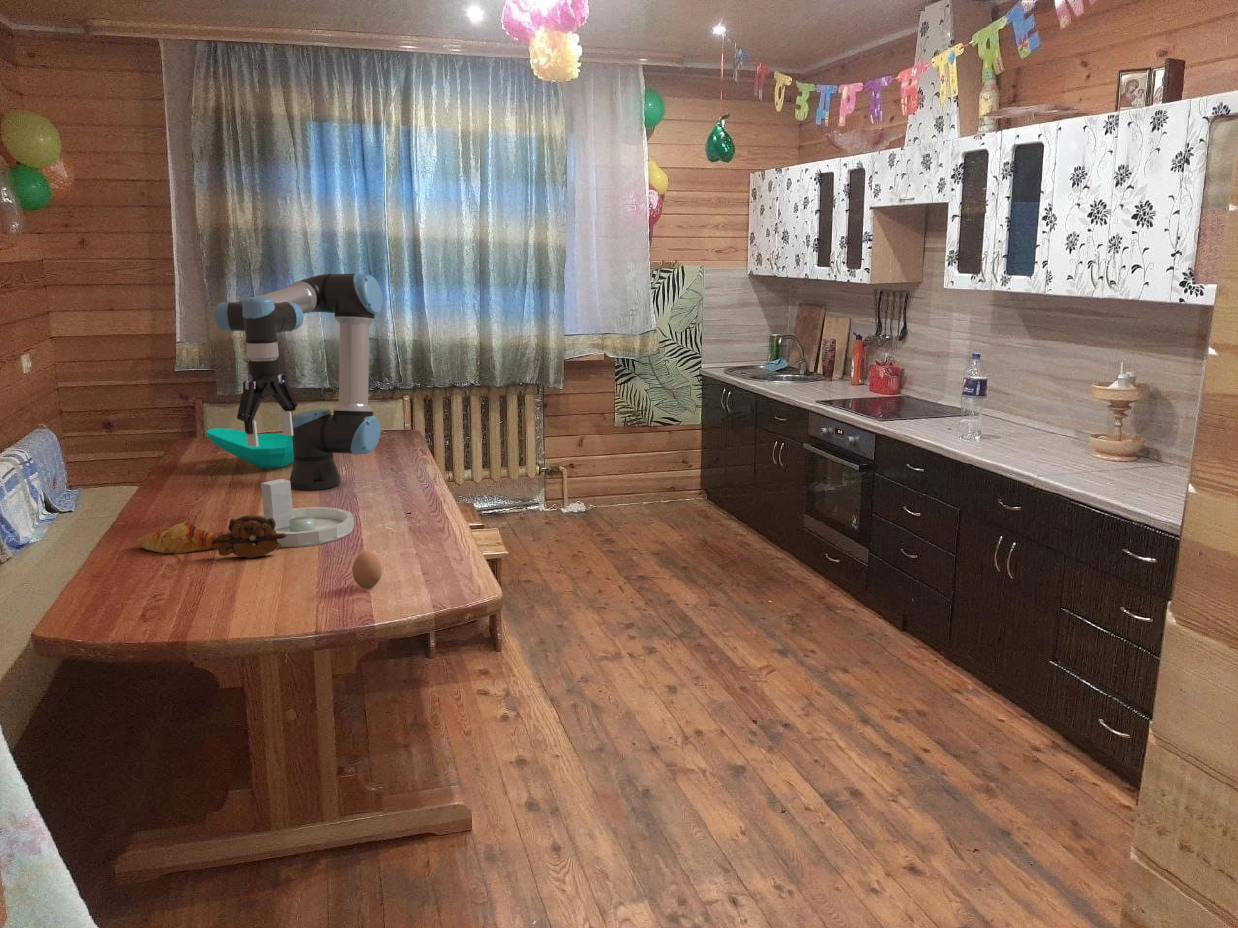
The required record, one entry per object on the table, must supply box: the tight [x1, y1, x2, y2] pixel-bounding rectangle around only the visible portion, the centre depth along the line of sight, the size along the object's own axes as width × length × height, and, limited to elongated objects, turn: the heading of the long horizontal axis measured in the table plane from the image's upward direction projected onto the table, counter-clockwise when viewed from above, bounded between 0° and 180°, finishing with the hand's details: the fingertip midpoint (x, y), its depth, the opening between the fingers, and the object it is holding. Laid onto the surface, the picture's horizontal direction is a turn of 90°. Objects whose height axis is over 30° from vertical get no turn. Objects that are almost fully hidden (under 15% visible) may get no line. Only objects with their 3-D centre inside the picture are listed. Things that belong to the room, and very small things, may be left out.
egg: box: [351, 551, 382, 589], centre depth 198 cm, size 6×6×8 cm
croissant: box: [136, 521, 219, 555], centre depth 225 cm, size 21×10×8 cm, turn 91°
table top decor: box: [205, 427, 294, 469], centre depth 314 cm, size 40×28×13 cm
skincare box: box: [260, 478, 294, 530], centre depth 239 cm, size 6×4×12 cm
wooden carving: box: [212, 514, 287, 559], centre depth 218 cm, size 16×5×10 cm, turn 105°
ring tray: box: [260, 506, 355, 549], centre depth 238 cm, size 25×25×4 cm
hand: (271, 440), depth 242 cm, fingers open, 13 cm apart
